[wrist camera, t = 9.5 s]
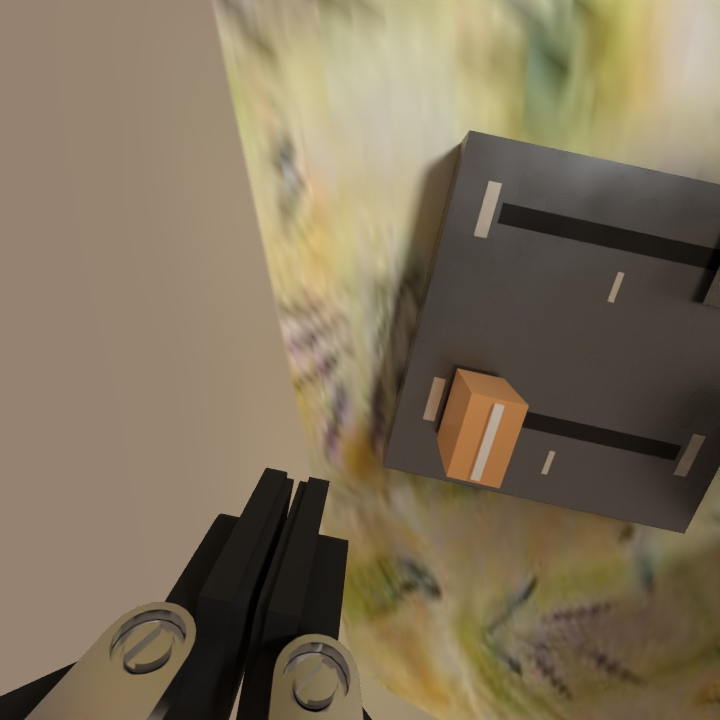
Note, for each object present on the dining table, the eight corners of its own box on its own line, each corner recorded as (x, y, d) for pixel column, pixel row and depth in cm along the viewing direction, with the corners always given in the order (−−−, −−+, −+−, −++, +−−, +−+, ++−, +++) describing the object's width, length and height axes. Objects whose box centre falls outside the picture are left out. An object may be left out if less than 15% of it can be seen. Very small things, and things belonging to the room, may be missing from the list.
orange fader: (504, 378, 20) (530, 407, 16) (480, 449, 21) (500, 490, 17) (457, 368, 20) (472, 394, 16) (436, 439, 21) (446, 478, 17)
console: (804, 216, 19) (852, 213, 17) (660, 510, 24) (684, 533, 22) (461, 142, 19) (469, 130, 17) (383, 449, 24) (383, 467, 22)
